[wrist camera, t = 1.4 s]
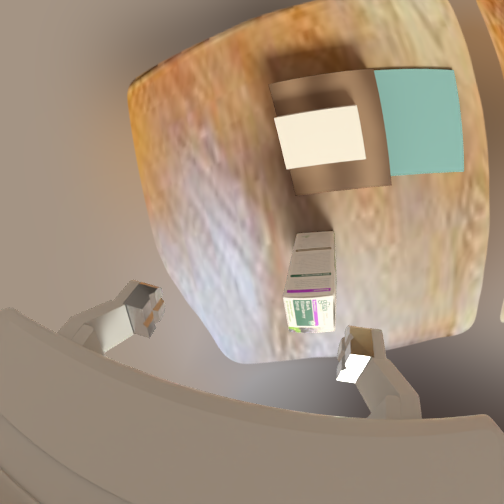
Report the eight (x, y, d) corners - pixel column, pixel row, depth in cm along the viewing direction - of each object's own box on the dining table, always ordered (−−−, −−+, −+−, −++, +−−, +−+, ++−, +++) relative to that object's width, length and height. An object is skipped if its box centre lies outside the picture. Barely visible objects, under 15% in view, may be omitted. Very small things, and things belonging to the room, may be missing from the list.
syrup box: (295, 232, 42) (278, 297, 30) (335, 229, 40) (334, 295, 28) (300, 264, 44) (285, 333, 33) (338, 262, 43) (336, 333, 31)
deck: (368, 71, 27) (373, 68, 24) (385, 175, 34) (391, 185, 30) (274, 84, 31) (268, 84, 28) (298, 185, 38) (295, 195, 35)
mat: (452, 70, 23) (453, 70, 23) (463, 170, 30) (463, 171, 29) (368, 71, 27) (368, 70, 27) (385, 175, 34) (386, 176, 33)
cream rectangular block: (355, 104, 27) (356, 105, 25) (363, 155, 30) (365, 159, 28) (277, 116, 30) (273, 118, 28) (288, 165, 33) (286, 169, 31)
